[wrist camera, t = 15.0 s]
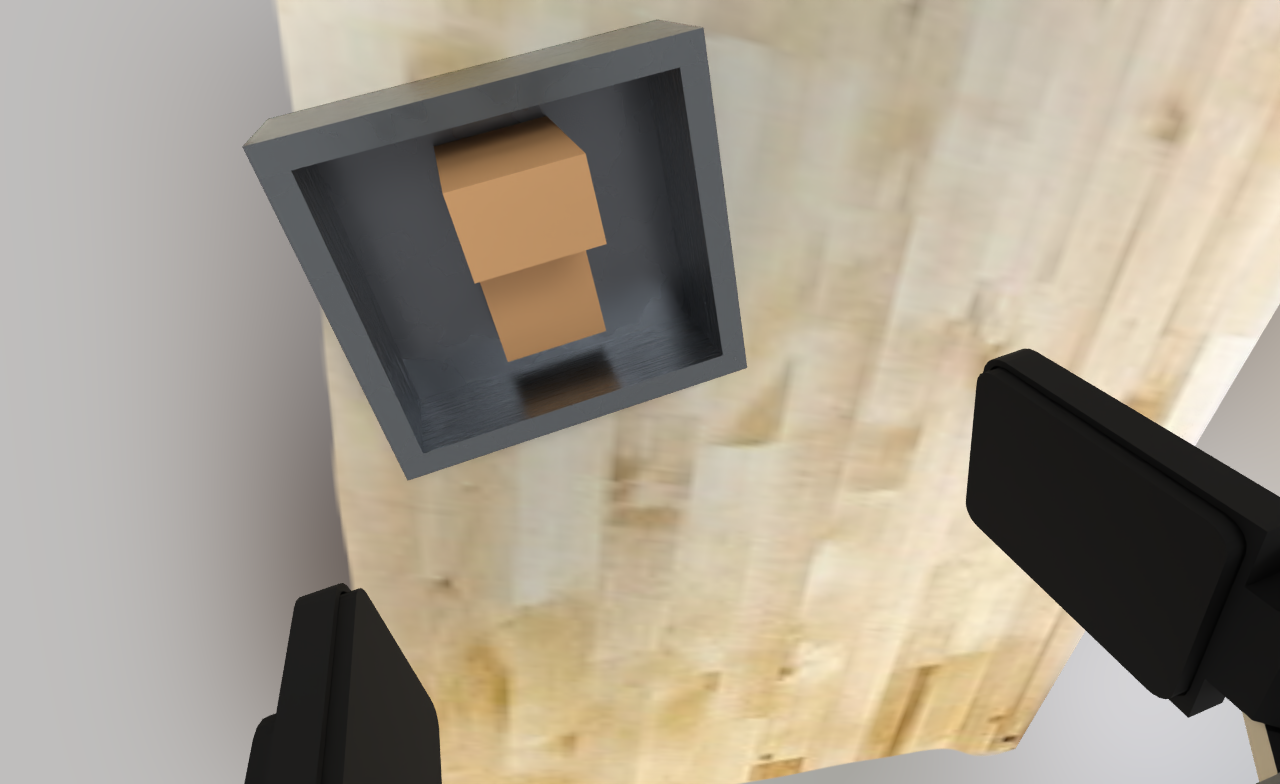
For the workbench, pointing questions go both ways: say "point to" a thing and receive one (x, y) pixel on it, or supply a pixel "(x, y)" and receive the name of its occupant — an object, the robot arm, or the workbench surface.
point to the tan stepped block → (527, 231)
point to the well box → (437, 268)
